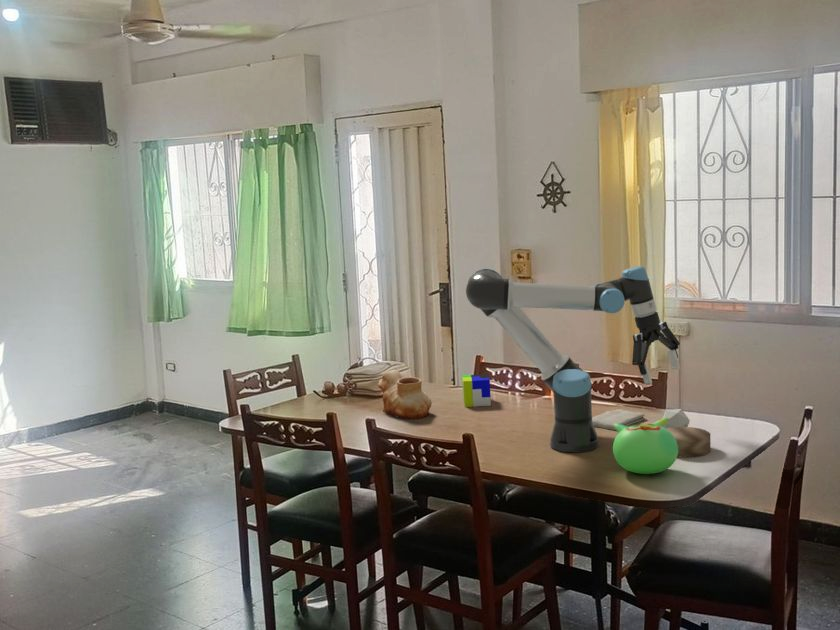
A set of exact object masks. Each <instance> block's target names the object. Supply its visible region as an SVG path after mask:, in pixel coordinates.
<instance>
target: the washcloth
mask: <svg viewBox="0 0 840 630" xmlns="http://www.w3.org/2000/svg"><path fill="white" fill-rule="evenodd" d="M645 419H646V418H645V414H644V413H643V412H634V411H630V410H626V409H620V408H617V409H614V410H606V411H605V412H603V413H600V414H598V415H595V416H592V422H593V425H594V428H595V427H596V428H601V429H605V430H610V431H612V430H613V431H617V430H616V429H615V428H614V426H613V425H614V424H621V425H624V426H627V427H630V426H633V425H635V424H636V423H638V422H641V421H644V420H645Z"/></svg>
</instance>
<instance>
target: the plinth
mask: <svg viewBox="0 0 840 630" xmlns="http://www.w3.org/2000/svg"><path fill="white" fill-rule="evenodd" d="M666 430H668V431H669V432H670V433H671V434H672V435H673V436H674V437H675V439H676V441H677V445H678V455H677V458H687V459H688V458H698V457H699V458H700V457H703V456H706V455H708V454H710V452H711V451H712V450H711V448H712V447H711V433H710V432H709V431H708V430H706V429H703V428H697V427H692V426H691V427H690V426H688V427H673V428H667V429H666Z"/></svg>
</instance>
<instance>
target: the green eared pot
mask: <svg viewBox="0 0 840 630" xmlns="http://www.w3.org/2000/svg"><path fill="white" fill-rule="evenodd" d="M662 418H663V417H662ZM662 418H661V419H659V420H656V421H655V422H653V423H640V424H639V423H638V424H636V423H635V424H632V425H630V426H624V425H621V424H614V425H613V426H614V428H615V429H616V430H615V431H617V432H618V434H617V435H616V436H615V437H614V438H615V439H613V445H612V454H613V457H614V459H615V461H616V462H617V464H618V465H620V467H622V468H623V469H625V470H626V471H629V472H630V473H634V474H639V475H653V474H658V473H661V472H664V471H666V470H668V469H669V468H671V467H672V466H673V465H674V464H675V462H676V461H677V458H678V457H677V455H678V445H677V441H676V439H675V437H674V436H673V435H672V434H671V433H670V432H669V431H668V430H666V429H665V428H663V426H664V425H665V424H666V423H667V421H668V420H669V418H663V419H662Z"/></svg>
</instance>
